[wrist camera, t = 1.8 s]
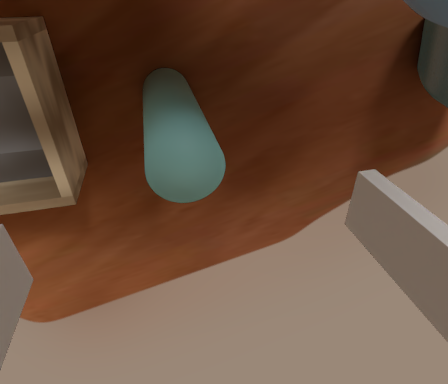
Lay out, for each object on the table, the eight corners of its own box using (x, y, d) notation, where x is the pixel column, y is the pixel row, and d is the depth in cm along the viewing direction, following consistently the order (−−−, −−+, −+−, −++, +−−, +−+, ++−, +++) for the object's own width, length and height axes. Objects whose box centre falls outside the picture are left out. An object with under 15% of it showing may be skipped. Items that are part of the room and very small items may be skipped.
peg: (138, 69, 25) (137, 136, 14) (187, 66, 26) (224, 127, 14) (146, 116, 27) (151, 207, 16) (191, 112, 28) (226, 197, 17)
